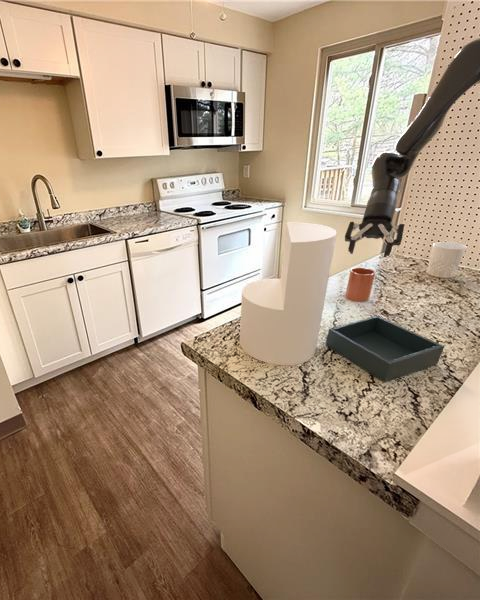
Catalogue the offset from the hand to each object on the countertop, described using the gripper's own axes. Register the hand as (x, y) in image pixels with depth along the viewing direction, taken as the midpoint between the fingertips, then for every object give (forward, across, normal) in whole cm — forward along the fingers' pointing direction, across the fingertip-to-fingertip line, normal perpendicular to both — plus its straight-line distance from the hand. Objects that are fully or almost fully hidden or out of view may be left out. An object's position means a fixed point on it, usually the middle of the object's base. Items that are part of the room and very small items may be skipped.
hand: (367, 254), depth 94 cm
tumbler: (+13, 0, +3) cm, 14 cm away
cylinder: (+39, -12, -23) cm, 47 cm away
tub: (+34, +8, -18) cm, 39 cm away
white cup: (-8, +20, +24) cm, 32 cm away
